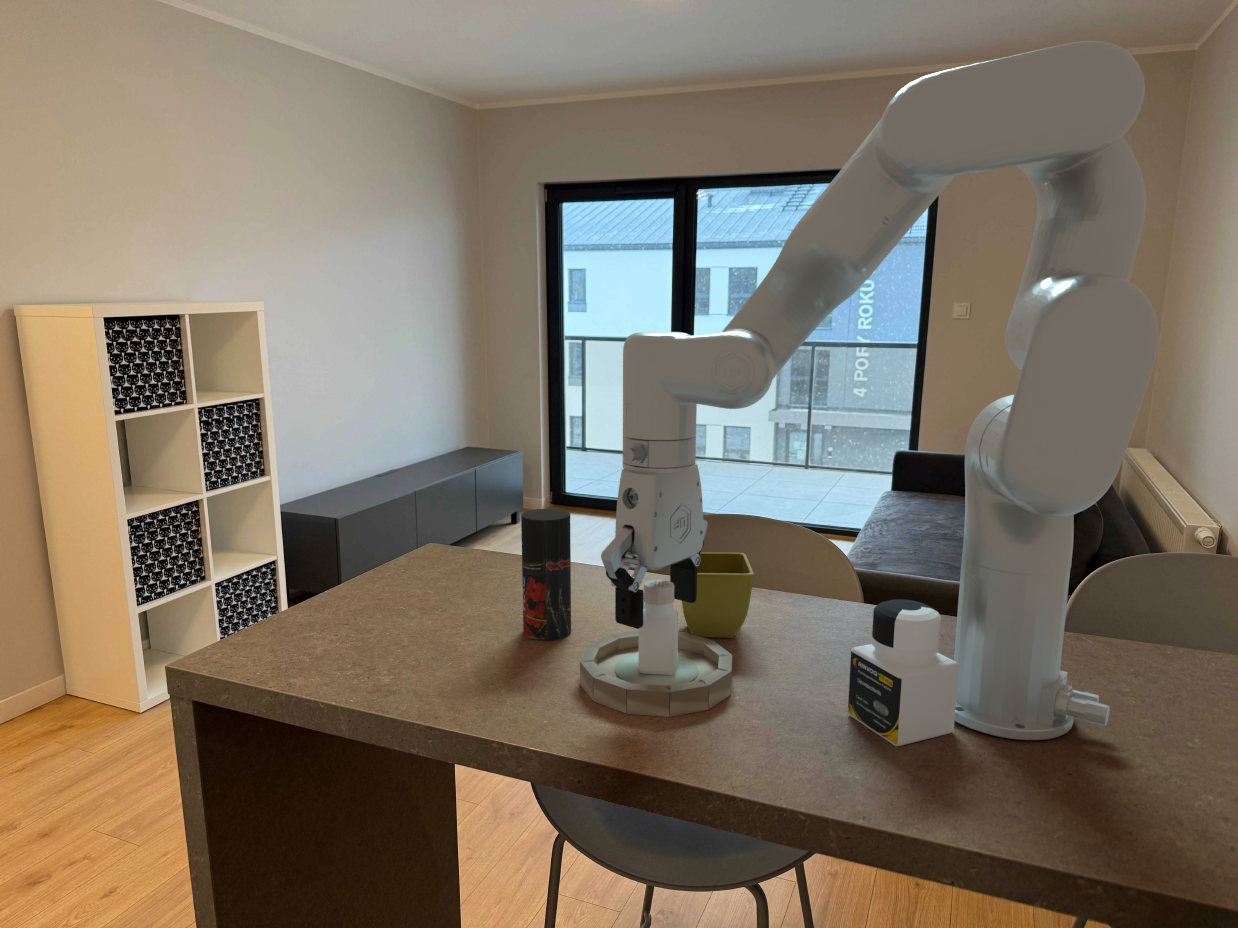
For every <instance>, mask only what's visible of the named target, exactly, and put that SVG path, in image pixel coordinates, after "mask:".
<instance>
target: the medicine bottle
mask: <svg viewBox="0 0 1238 928" xmlns="http://www.w3.org/2000/svg"><path fill="white" fill-rule="evenodd" d="M872 615H873V616H872V632H871V643H870V644H865V645H859V646H853V647H852V648H851V650H850V665H849V666H850V667H849V685H848V699H847V700H848V701H847V702H848V704H847V714H848V715H849V717H851V718H853V719H854V720H856V721H857V722H859V723H860V724H862V725H864V726H865V727H866V728H867V729H869V730H871V731H872V732H874V733H875V734H876V735H878V736H880V737H881V738H882V739H883V740H884V741H887V742H888V743H890V744H891V745H893V746H894V747H901V746H905V745H908V744H913V743H916V742H920V741H925V740H928V739H932V738H937V737H940V736H945V735H948V734H949V735H950V734H952V733H953V732H954V731H955V723H956V721H955V709H956V696H957V684H958V671H959V664H958V663H957V662H956V661H954V659H951V658H949V657H947V656H946V655H944V654H941V653H939V645H940V634H941V633H940V632H941V622H942V621H941V620H942V616H941V614H940V613H939V611H938V610H936V609H935V608H934V607H932V606H930V605H928V604H926V603H924V602H921V601H917V600H911V599H901V598H899V599H896V598H895V599H891V600H890V599H888V600H886V601H882V602H879V603H878V604H877V605H876V606H875V607H873V613H872Z"/></svg>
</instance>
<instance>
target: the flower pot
mask: <svg viewBox="0 0 1238 928" xmlns="http://www.w3.org/2000/svg"><path fill="white" fill-rule="evenodd" d="M699 556H700V564H699V565H698V566H695V567H697V600H696V601H695V602H694V603H689V602H685V601H681V604H682V606H681V607H682V613H683V617H684V620H685V623H686V625H687V628H688V629H689V632H690V634H692V635H696V636H699V637H703V638H726V639H727V638H728V639H729V638H731V639H732V638H735V636H736V635H738V633H739V632H740V630H741V629H742V627H743V625H744V623H745V621H746V618H747V615H748V613H749V608H750V602H751V595H752V590H753V583H754V574H755V573H754V570H753V568H752V566H751V563H750V561H749V559H748V557H747V555H746V554H745V552H702V551H701V552H700V554H699Z"/></svg>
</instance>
